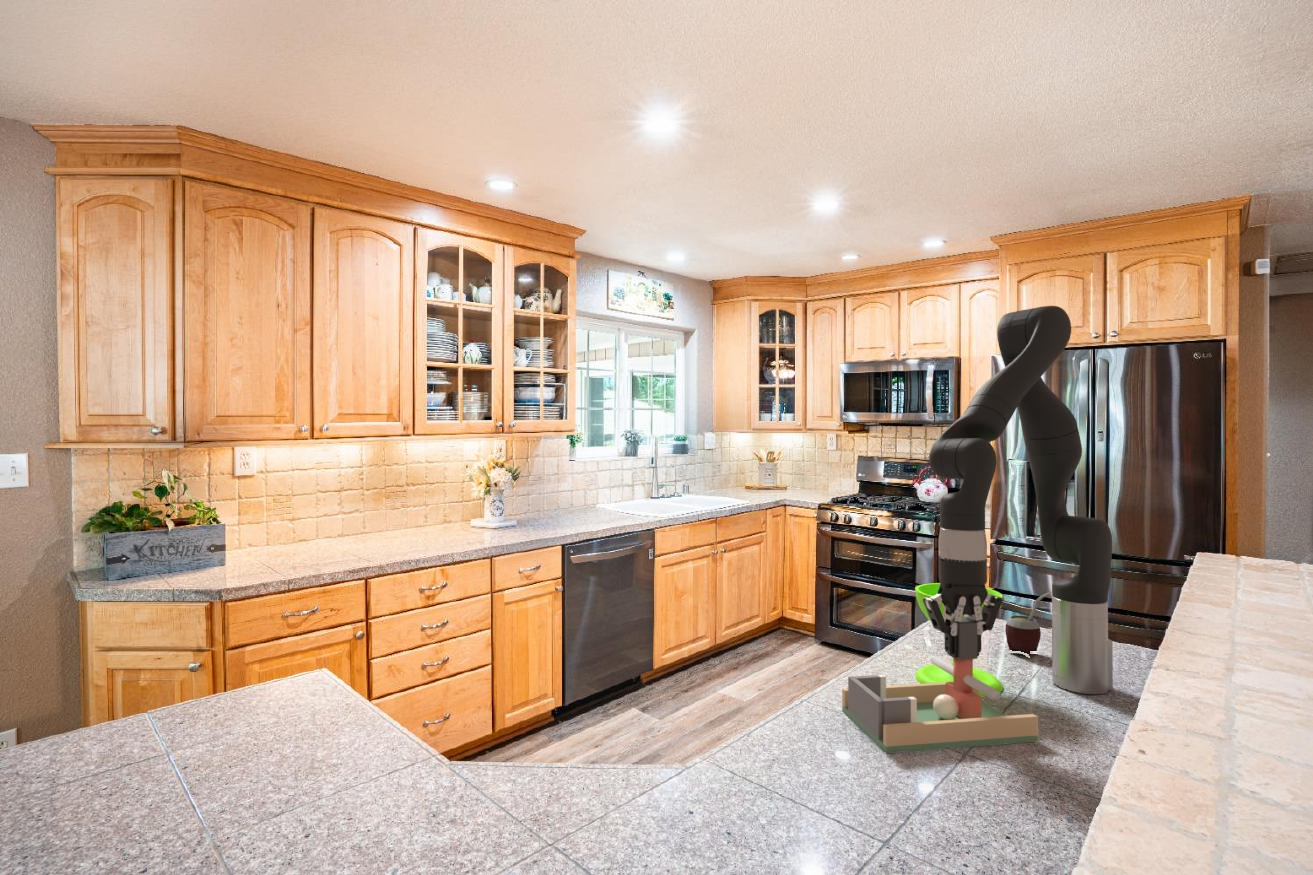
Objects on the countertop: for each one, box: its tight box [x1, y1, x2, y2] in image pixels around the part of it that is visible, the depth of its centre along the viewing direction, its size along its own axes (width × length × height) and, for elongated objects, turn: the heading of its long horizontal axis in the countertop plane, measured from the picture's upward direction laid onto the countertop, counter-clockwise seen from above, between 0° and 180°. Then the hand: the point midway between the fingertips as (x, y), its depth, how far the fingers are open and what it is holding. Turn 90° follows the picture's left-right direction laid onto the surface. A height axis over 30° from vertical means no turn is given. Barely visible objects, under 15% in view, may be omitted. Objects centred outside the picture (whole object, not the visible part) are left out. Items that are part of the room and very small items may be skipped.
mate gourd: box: [1004, 591, 1052, 654], centre depth 148 cm, size 8×8×15 cm
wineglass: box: [914, 582, 1004, 698], centre depth 132 cm, size 16×16×18 cm
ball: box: [933, 694, 959, 720], centre depth 112 cm, size 4×4×4 cm
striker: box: [930, 618, 1001, 719], centre depth 112 cm, size 3×17×16 cm, turn 8°
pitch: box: [841, 674, 1039, 754], centre depth 111 cm, size 26×16×7 cm, turn 98°
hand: (962, 654), depth 112 cm, fingers closed on striker, 3 cm apart
